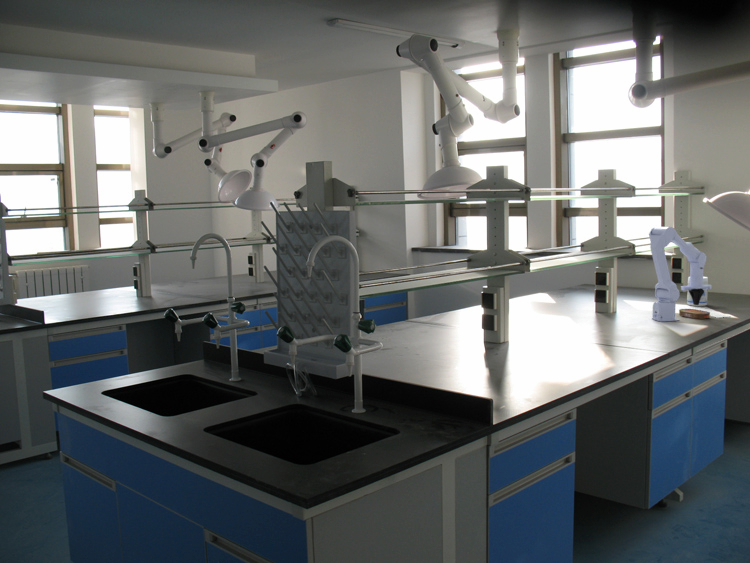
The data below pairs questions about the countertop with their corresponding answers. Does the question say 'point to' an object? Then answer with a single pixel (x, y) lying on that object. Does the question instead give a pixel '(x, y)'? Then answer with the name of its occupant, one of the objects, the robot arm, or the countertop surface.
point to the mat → (717, 315)
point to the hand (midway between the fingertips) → (696, 304)
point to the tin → (694, 313)
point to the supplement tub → (703, 298)
